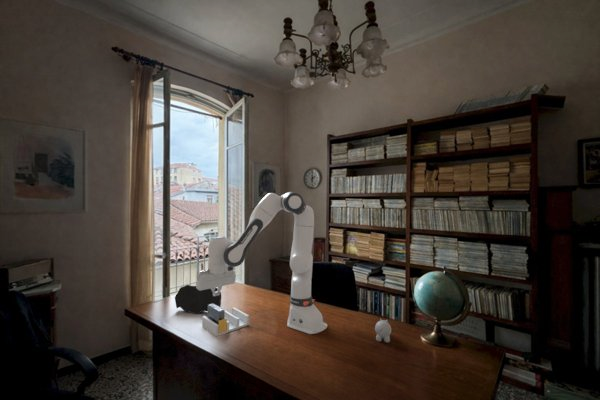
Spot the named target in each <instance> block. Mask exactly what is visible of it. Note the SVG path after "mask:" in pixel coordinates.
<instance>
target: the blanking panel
mask: <svg viewBox="0 0 600 400" xmlns="http://www.w3.org/2000/svg"><path fill="white" fill-rule="evenodd" d="M225 311H226V310H225V309H224V308H222V307H219V306H217V305H215V304H214V303H212V304H208V311H207V316H206V317H207V318H209V319H210V320H212V321H213V322H215V323H216V324H218V325H219V320H222V319H224V313H225Z"/></svg>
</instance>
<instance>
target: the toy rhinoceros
mask: <svg viewBox="0 0 600 400" xmlns="http://www.w3.org/2000/svg"><path fill="white" fill-rule="evenodd" d="M374 331H375V333H376V336H375V340H376V341H377V342H382V341H384V343H387V344H388V343H390V342H391V337H390V335H391V333H392V327H391V324H389V322H388V319H386V320H385V319H382V318H380V320H379V321H377V322H376V324H375V326H374Z"/></svg>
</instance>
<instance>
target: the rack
mask: <svg viewBox="0 0 600 400" xmlns="http://www.w3.org/2000/svg"><path fill="white" fill-rule="evenodd" d="M207 317H208V316H206V315H202V318H201V319H202V321H201V322H202V324H201V325H202V328H204V329H205V330H207V331H208V332H210V333H211V334H212V335H213V336H215V337H218V336H221V335H224V334H227V333H230V332H232V331H236V330H239V329H241V328H244V327H247V326H250V315H249V314H247V313H245V312H243V311H241V310H239V309H238V308H236V307H232V308H231V312H229V311H227V310H225V313H224V319H222V320H219V325H218V324H216V323H215V322H213V321H212V320H210V319H209V318H207Z"/></svg>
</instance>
